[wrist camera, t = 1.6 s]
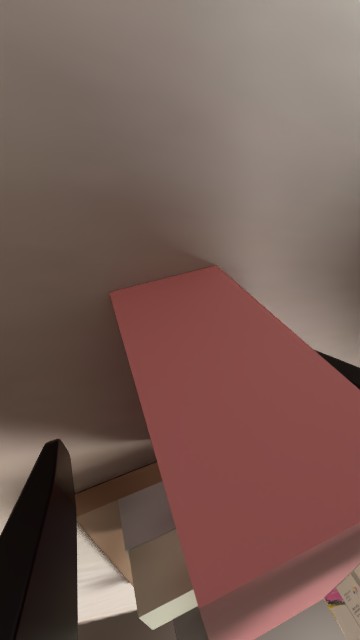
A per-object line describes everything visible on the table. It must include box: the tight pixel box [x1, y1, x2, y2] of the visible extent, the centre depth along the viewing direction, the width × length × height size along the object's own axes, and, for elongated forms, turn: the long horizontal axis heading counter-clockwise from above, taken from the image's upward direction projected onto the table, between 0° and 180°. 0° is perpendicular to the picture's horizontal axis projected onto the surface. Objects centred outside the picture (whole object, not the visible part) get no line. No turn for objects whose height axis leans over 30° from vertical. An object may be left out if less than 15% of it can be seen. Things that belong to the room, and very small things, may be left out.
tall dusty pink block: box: [109, 265, 360, 640], centre depth 8 cm, size 4×8×7 cm, turn 6°
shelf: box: [75, 462, 360, 640], centre depth 17 cm, size 14×17×6 cm
